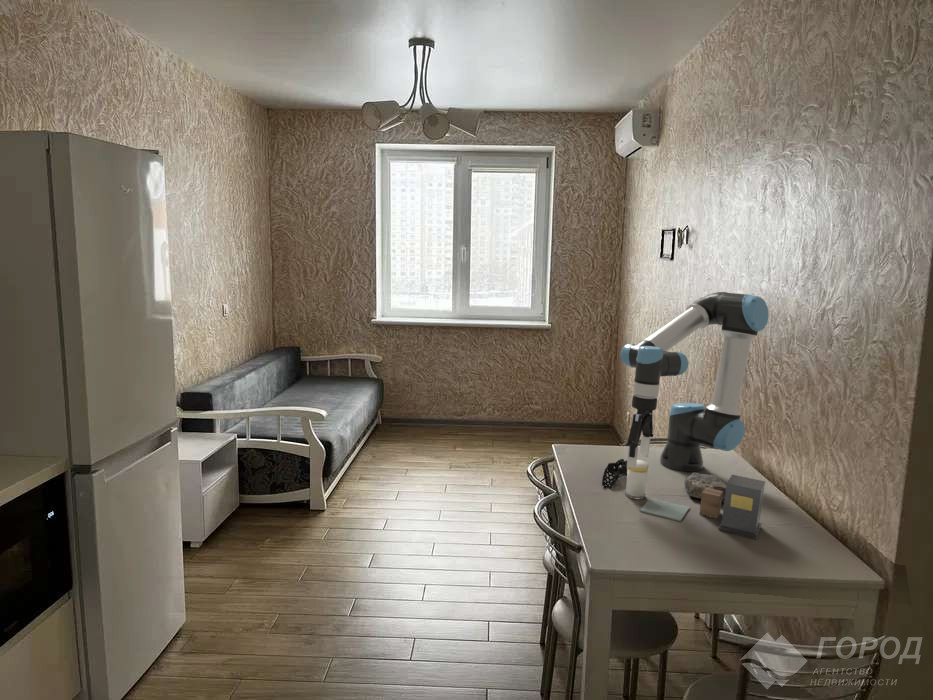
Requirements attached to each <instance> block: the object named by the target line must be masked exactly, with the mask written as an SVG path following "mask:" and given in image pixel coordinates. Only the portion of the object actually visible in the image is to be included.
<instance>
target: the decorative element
mask: <svg viewBox="0 0 933 700" xmlns="http://www.w3.org/2000/svg"><path fill="white" fill-rule="evenodd" d="M617 471H618V472H617ZM627 472H628V466H627V459H626V460H625V459H624V458H620V459H618V460H617V461H616V462H608V463H607V466H606V467H605V469H604V472H603V474H602V480H601V486H602V487H603V488H604V487H607V488H606V489H612V487H613V486H614V485H615V484H616V482H617V480H619V476H620V475H623V474H627ZM610 477H612V478H610ZM606 485H607V486H606ZM609 485H610V486H609ZM608 487H609V488H608Z"/></svg>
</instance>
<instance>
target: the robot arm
mask: <svg viewBox="0 0 933 700" xmlns="http://www.w3.org/2000/svg"><path fill="white" fill-rule="evenodd" d="M769 315H770V314H769V307H768V305H767V302H766V301H765V300H764V299H763V298H762V297H761V296H758V295H754V294H753V295H752V294H745V293H744V294H743V293H736V292H735V293H734V292H728V291H727V292H726V291H717V292H713V293H711V294H710V293H709V294H707V295H704V296H703V297H700V298H699V299H696V300H695V301H694V302H692V303H690V304H689V305H687V307H686V308H685V311H684V312H682V313H681V314H679V315H678V316H677V317H675V318H674V319H672V320H671V321H669V322H668V323H666V324H665V325H663V326H662V327H661V328H658V330H656V331H654V332H653V333H651V334H650V335H649V336H647V337H646V338H644V339H643V340H641V341H639V343H637V344H635V343H627V344H625V345H624V346H623V347H622V348H621V351H620V357H619V358H620V361H621V363H622V364H623V365H624V366H628V367H631V368H633V369H635V373H634V383H632V384H631V385H632V387H633V391H632V392H633V395H632V397H631V398H632V399H631V407H632V408H634V409H636V410H637V411H636V413H633V415H632V421H631V425H630V426H631V427H630V431H629V434H628V438H627V442H625V443H626V444H625V445H626V446H628V453H627V458H626V460H627V467H628V466H629V467H633V468H636V464H637V460H638V453H639V457H643V458H649V451H650V442H651V438H654V431H653V430H654V428H653V426H654V423H653V420H654V419H653V411H655V410H656V409H657V405H658V398H657V397H658V396H659V391H660V379H661V377H672V376H673V377H676V376H679V375H683V374H685V373H686V372H687V370H688V368H689V359H688V357H687V355H686V354H685V353H683V352H682V351H681V352H680V351H675V350H674V351H669V350H670V349H672V348H673V347H675V346H676V345H677V344H679V343H680V342H681V341H683V340H685V339H686V338H687V337H688V336H690V335H692V334H693V333H695V332H696V331H697V330H699V329H705V328H706V327H708V326H710V325H711V326H712V325H719V326H721V330H720V331H721V333H723V335H724V337H723V343H722V348H721V353H720V356H719V357H720V359H719V363H718V368H717V373H716V378H715V383H714V387H713V393H712V398H711V402H710V404H709V403H708V405H707V406H705V404H702V403H696V402H679V403H674V404H673V405H671V406H670V407H671V408H670V412H669V413H670V414H669V421H668V429H667V438H666V439H667V441H666V443H665V446H664V448H663V450H662V452H661V454H660V457H659V463H660V462H661V463H660V464H661V465H662V464H663V466H664V465H665V466H664V467H666V466H667V468H668V469H672V470H676V471H681V470H683V472H698V471H701V470H702V469H703V466H704V460H703V455H702V450H701V444H702V445H705V446H707V447H708V446H709V447H710V448H713V449H715V450H719V451H720V450H721V451H724V452H730V451H733V450H735V449H736V448H737V447H738V446H740V445H741V442H742V440H743V439H744V437H745V432H746V426H745V425H746V424H745V423H744V421H742V420H741V412H740V411H739V409H738V406H739V401H740V396H741V391H742V387H743V381H744V376H745V372H746V369H747V368H746V367H747V362H748V357H749V353H750V348H751V343H752V342H751V341H753V340H754V339H755V338H756V337H758V333H759V332H761V331H763V330H765V328H766V326H767V325H768V322H769ZM639 442H640V443H639ZM639 444H640V446H638V445H639Z"/></svg>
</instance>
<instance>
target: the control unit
mask: <svg viewBox="0 0 933 700" xmlns="http://www.w3.org/2000/svg"><path fill="white" fill-rule="evenodd" d="M765 484H766V481H765V480H761V479H756V478H751V477H745V476H741V475H736V474H731V476H730V477H729V479H728V480H727V482H726V484H725V485H726V493H725V501H724V502H723V503H724V504H723V511H722V519H721V522H720V524H719V525H718V531H722V532H725V533H730V534H734V535H738V536H741V537H745V538H749V539H753V538H754V539H753V540H757V539H758V535H759V534H760V531H761V529H762V528H761V527H762V523H761V521H760V520H761V514H762V506H763V500H764V493H765Z"/></svg>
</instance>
